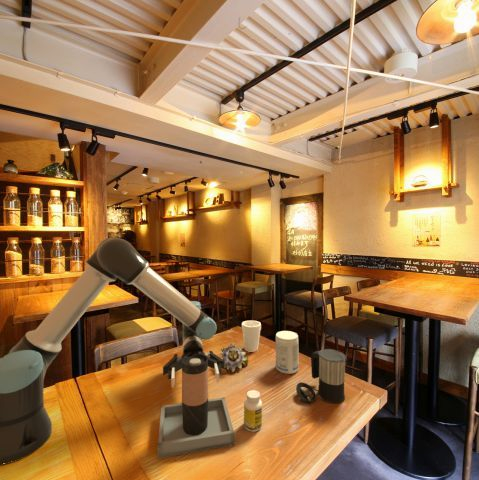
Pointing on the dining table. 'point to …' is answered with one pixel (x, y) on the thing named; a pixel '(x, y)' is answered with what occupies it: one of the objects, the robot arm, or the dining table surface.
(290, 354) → the supplement tub
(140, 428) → the dining table surface
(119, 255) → the robot arm
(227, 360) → the passion flower
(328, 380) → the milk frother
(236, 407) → the dining table surface
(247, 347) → the foam cup
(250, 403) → the supplement bottle
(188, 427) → the travel mug
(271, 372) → the dining table surface
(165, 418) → the tray
